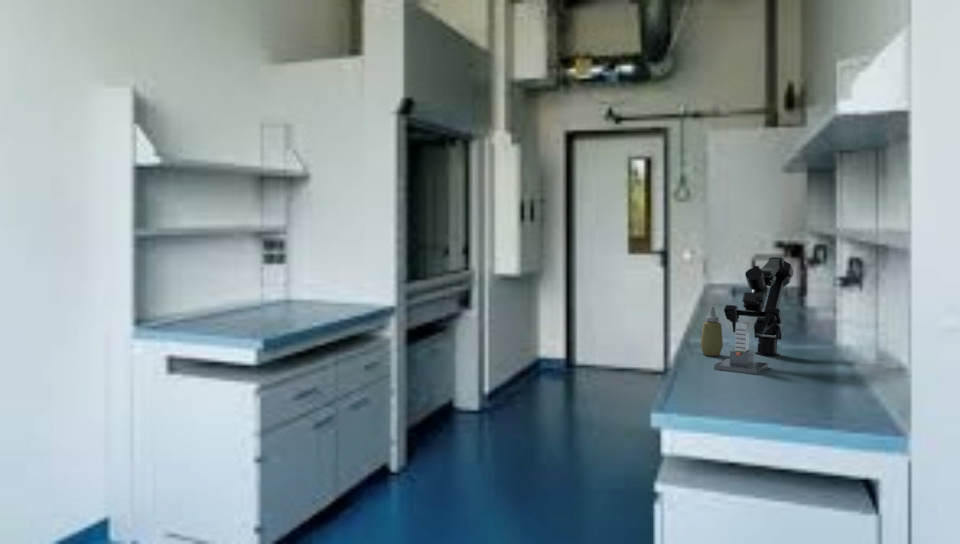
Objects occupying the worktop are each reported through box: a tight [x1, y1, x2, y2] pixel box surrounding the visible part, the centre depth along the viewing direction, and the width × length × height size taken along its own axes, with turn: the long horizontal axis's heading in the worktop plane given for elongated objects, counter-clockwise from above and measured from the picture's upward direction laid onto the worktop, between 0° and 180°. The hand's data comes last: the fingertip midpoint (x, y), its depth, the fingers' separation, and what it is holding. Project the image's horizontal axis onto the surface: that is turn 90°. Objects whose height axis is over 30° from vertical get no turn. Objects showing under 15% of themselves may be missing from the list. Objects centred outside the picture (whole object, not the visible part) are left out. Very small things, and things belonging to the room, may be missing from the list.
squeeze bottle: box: [699, 306, 724, 357], centre depth 280 cm, size 8×8×18 cm
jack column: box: [734, 321, 751, 353], centre depth 254 cm, size 4×4×10 cm
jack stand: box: [713, 348, 769, 375], centre depth 255 cm, size 14×14×6 cm
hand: (747, 333), depth 259 cm, fingers open, 9 cm apart
